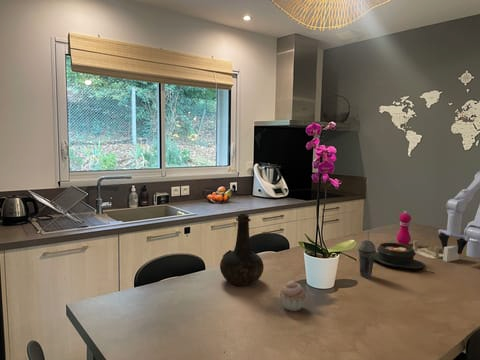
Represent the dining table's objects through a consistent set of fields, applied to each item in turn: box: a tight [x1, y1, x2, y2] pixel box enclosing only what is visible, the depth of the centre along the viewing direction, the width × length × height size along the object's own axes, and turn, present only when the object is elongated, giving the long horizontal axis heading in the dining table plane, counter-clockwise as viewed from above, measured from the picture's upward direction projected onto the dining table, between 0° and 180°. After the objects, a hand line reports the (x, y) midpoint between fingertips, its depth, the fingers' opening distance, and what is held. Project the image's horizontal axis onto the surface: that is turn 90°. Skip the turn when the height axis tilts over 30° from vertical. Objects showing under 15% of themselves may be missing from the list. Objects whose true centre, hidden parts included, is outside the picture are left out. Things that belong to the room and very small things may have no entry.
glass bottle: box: [219, 213, 264, 287], centre depth 149 cm, size 18×18×28 cm
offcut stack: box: [427, 245, 444, 253], centre depth 192 cm, size 4×6×2 cm
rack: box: [412, 240, 444, 260], centre depth 190 cm, size 15×14×6 cm
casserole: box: [374, 242, 425, 270], centre depth 175 cm, size 25×19×8 cm
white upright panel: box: [442, 244, 460, 262], centre depth 179 cm, size 2×9×7 cm, turn 116°
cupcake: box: [279, 279, 307, 312], centre depth 128 cm, size 9×9×10 cm
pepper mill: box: [396, 210, 412, 246], centre depth 204 cm, size 7×7×20 cm
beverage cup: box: [358, 229, 377, 279], centre depth 158 cm, size 7×7×20 cm
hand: (451, 251), depth 179 cm, fingers open, 7 cm apart
